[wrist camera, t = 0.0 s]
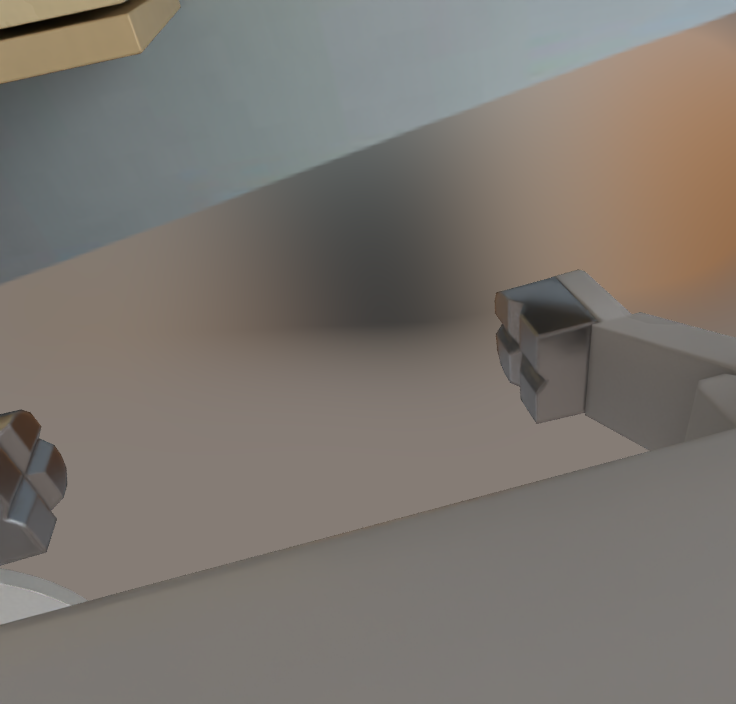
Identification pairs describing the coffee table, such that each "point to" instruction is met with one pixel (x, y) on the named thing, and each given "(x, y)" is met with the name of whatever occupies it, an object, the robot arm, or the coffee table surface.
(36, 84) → the coffee table surface
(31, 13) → the beige rectangular box
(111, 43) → the cabinet door
